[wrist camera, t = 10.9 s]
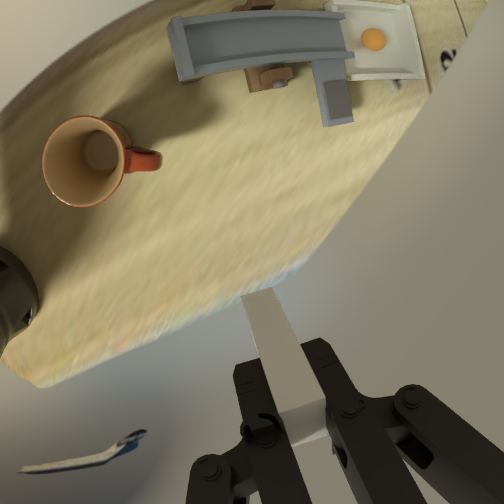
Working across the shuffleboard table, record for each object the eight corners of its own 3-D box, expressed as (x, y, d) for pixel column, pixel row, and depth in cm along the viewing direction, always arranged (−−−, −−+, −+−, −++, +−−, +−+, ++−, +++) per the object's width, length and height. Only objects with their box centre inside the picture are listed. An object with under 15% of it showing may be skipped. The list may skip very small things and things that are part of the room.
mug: (74, 182, 34) (41, 206, 25) (78, 114, 30) (44, 116, 21) (163, 187, 37) (155, 212, 28) (171, 117, 33) (165, 118, 24)
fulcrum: (189, 108, 33) (189, 106, 26) (169, 25, 28) (165, 6, 21) (281, 88, 34) (302, 83, 27) (261, 8, 29) (278, -12, 22)
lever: (199, 158, 29) (207, 161, 26) (166, 28, 22) (171, 17, 20) (354, 120, 34) (370, 121, 32) (332, 16, 28) (348, 11, 25)
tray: (341, 82, 35) (357, 79, 31) (322, 5, 29) (337, -5, 26) (406, 79, 36) (425, 78, 32) (390, 9, 30) (408, 3, 26)
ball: (371, 49, 30) (392, 49, 30) (365, 25, 28) (387, 26, 28) (359, 52, 33) (380, 52, 33) (354, 30, 31) (375, 30, 31)
